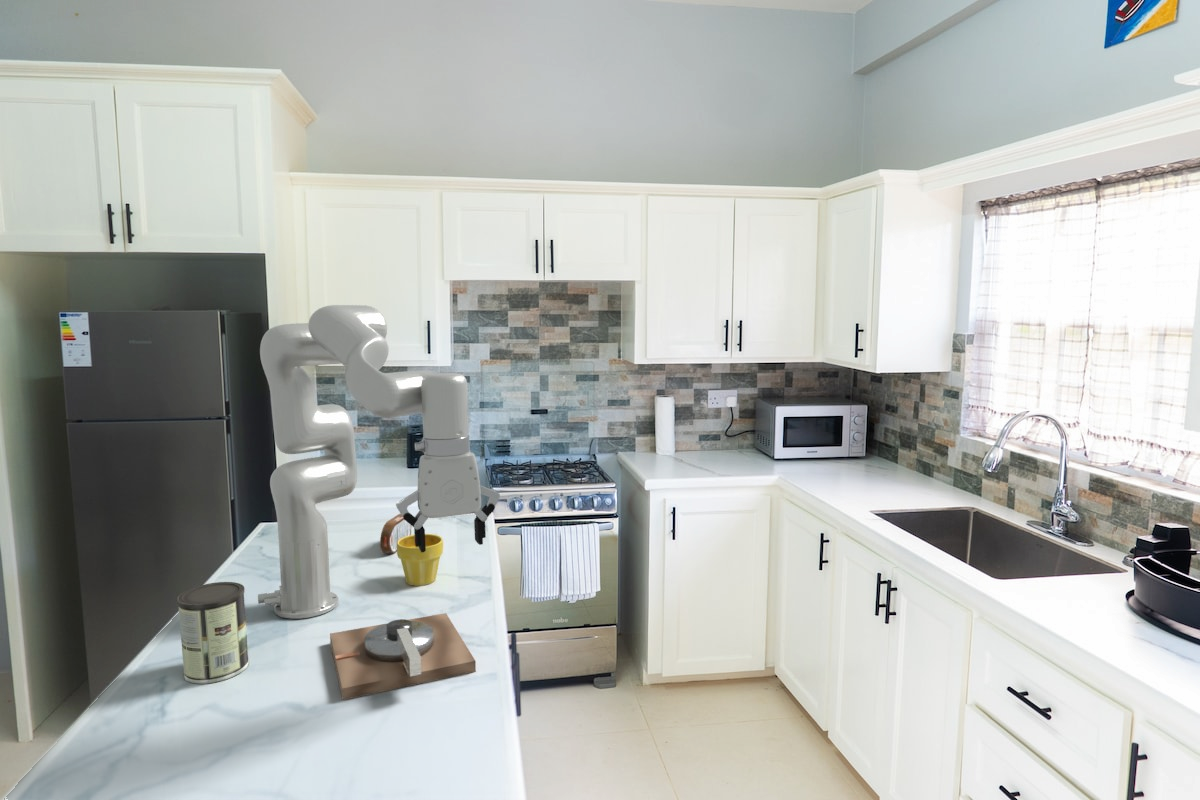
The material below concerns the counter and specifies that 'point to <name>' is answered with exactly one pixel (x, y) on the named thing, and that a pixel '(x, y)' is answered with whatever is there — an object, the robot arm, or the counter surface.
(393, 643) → the dial
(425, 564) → the plant pot
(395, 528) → the tin
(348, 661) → the dial board
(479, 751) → the counter surface
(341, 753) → the counter surface
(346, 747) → the counter surface
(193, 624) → the coffee can
